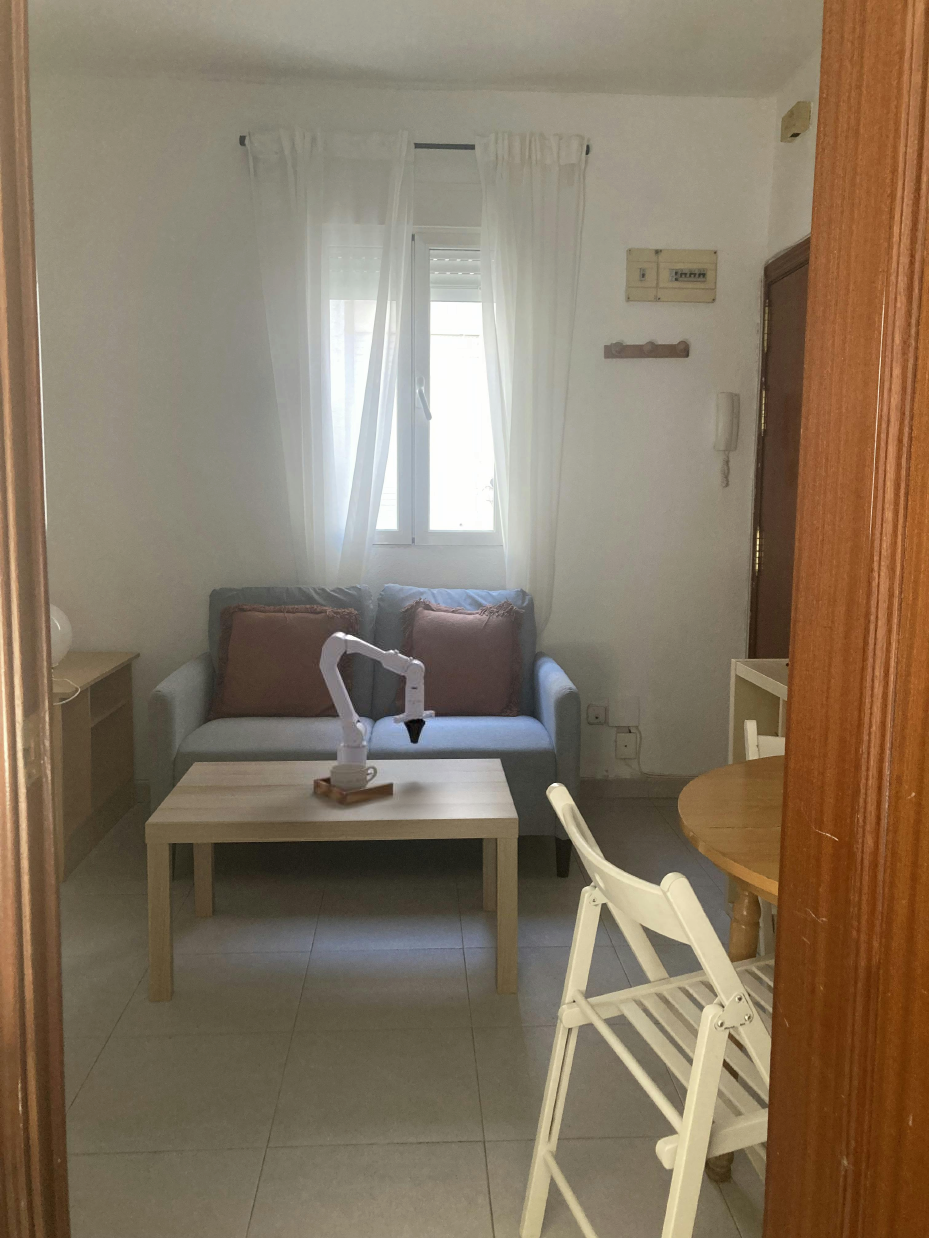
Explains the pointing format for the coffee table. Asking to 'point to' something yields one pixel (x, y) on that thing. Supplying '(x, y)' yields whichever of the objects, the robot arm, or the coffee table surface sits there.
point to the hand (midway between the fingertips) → (414, 742)
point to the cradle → (351, 792)
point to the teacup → (351, 776)
